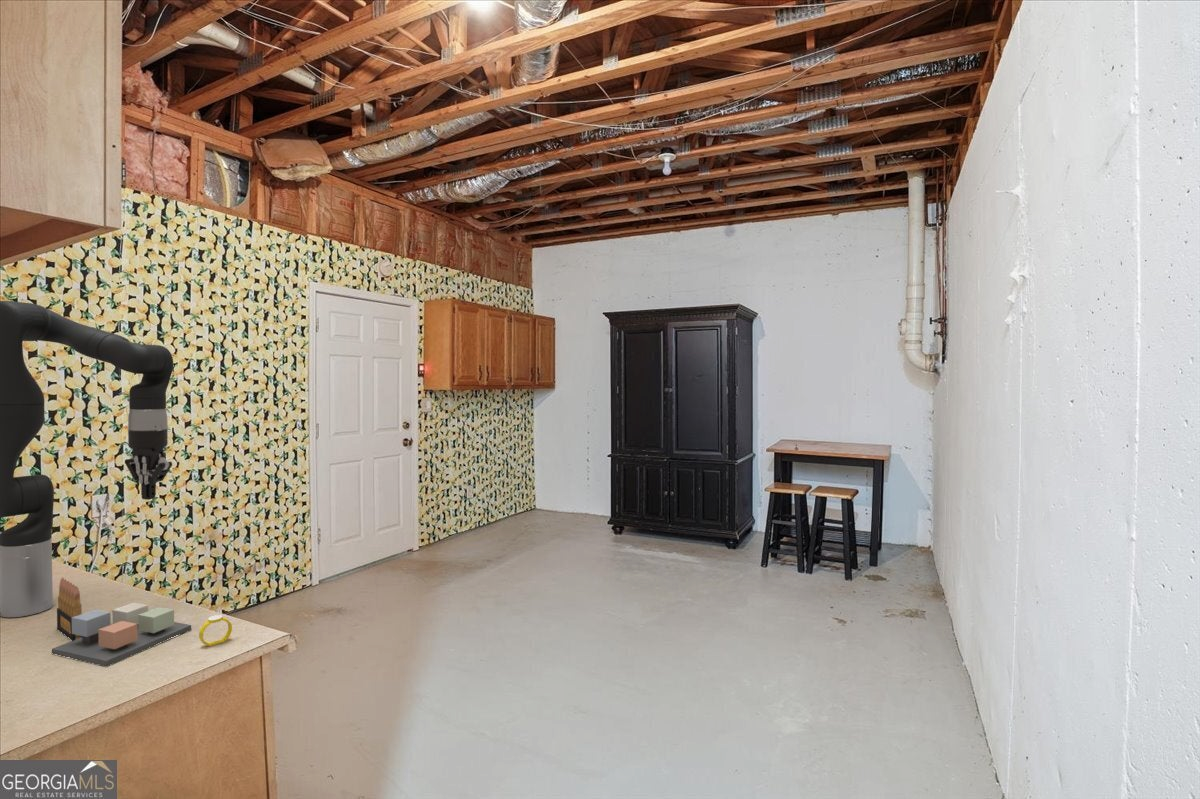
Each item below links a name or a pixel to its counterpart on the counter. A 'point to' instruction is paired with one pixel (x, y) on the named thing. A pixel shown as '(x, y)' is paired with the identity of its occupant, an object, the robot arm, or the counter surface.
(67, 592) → the ammunition clip
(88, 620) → the slate key
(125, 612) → the cream key
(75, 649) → the keypad board
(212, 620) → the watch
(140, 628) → the sage key
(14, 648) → the counter surface
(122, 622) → the terracotta key
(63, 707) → the counter surface
